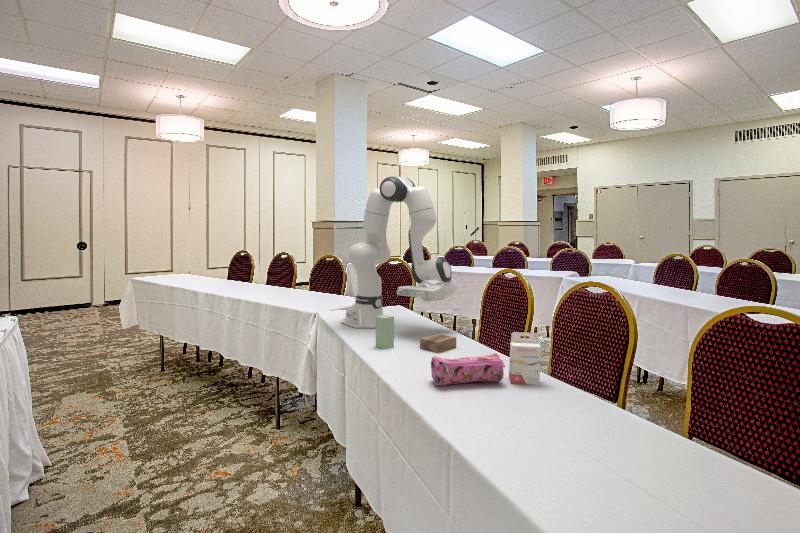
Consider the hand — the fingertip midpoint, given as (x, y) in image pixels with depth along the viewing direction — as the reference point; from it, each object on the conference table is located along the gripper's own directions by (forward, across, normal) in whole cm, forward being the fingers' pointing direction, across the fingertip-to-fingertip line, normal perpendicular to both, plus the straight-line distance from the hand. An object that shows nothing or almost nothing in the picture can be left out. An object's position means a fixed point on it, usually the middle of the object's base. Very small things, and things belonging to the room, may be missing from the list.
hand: (406, 294), depth 190 cm
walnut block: (-1, +15, +20) cm, 25 cm away
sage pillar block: (+12, -1, +19) cm, 23 cm away
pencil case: (+24, +47, +21) cm, 56 cm away
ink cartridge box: (+11, +58, +21) cm, 63 cm away
